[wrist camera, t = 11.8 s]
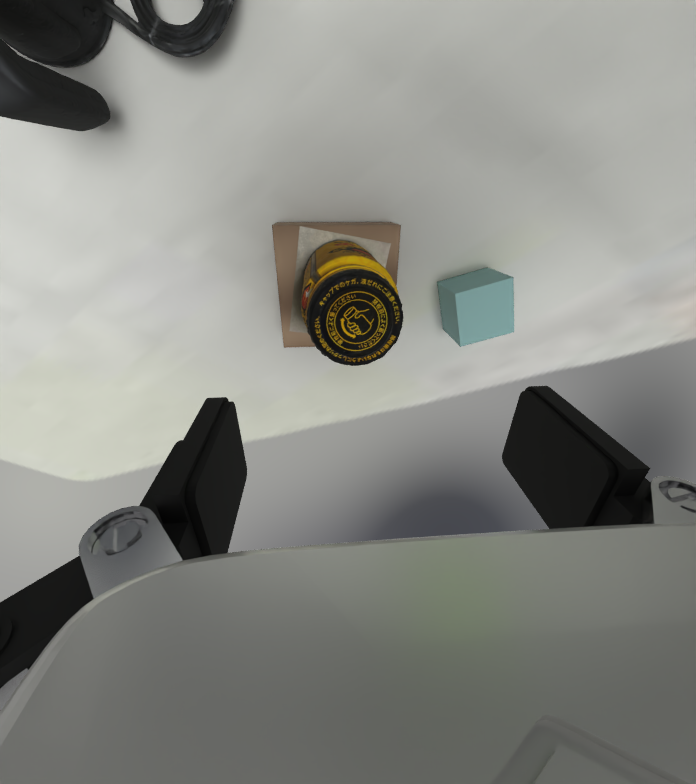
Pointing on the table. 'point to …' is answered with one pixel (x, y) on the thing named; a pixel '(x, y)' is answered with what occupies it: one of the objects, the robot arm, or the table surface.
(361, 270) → the condiment
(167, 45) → the milk frother
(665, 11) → the table surface
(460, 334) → the teal cube
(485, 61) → the table surface
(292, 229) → the block
